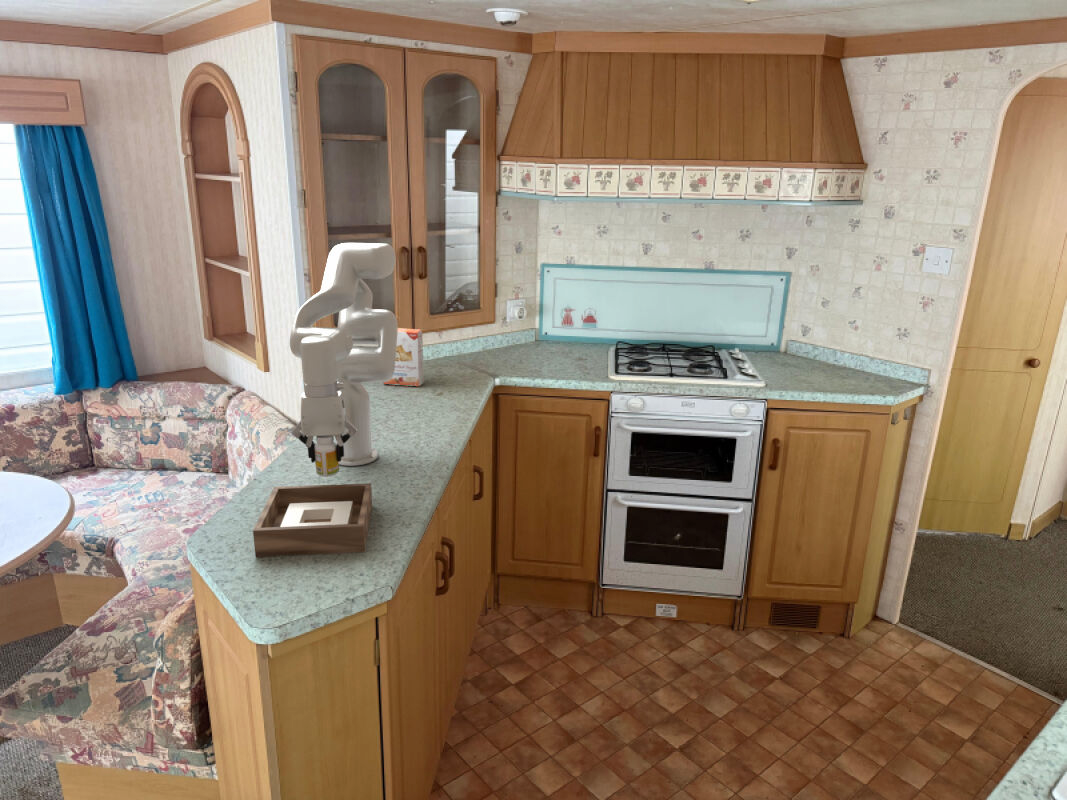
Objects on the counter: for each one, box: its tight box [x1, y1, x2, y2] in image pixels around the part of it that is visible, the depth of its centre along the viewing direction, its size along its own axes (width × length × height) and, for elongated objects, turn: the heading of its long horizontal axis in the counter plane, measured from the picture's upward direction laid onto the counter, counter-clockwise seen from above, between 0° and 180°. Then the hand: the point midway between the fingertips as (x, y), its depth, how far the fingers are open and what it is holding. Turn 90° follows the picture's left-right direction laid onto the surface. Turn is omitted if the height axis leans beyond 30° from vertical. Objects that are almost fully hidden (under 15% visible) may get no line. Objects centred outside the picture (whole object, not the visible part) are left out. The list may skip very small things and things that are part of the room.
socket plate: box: [280, 501, 353, 527], centre depth 164 cm, size 14×14×2 cm
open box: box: [252, 483, 373, 558], centre depth 164 cm, size 22×22×6 cm
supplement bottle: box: [314, 435, 340, 478], centre depth 179 cm, size 5×5×10 cm
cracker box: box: [382, 327, 424, 386], centre depth 274 cm, size 14×6×21 cm, turn 81°
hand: (326, 459), depth 179 cm, fingers closed on supplement bottle, 5 cm apart
